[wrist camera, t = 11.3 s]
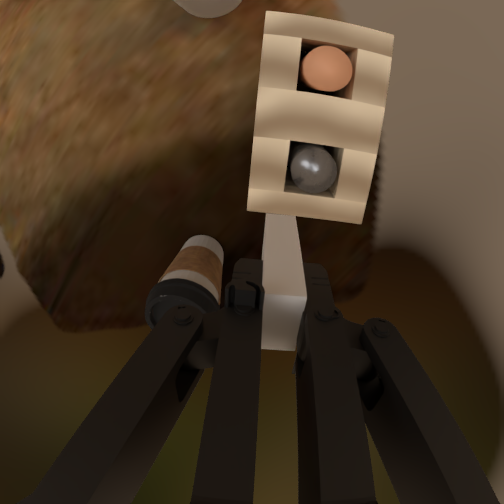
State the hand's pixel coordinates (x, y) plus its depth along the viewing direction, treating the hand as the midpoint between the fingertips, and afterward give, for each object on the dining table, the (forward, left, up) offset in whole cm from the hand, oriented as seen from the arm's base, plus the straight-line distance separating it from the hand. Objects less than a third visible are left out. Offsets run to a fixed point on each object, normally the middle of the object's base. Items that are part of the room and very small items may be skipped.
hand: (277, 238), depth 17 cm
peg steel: (0, +4, -23) cm, 23 cm away
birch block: (-5, +4, -24) cm, 25 cm away
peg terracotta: (-10, +4, -23) cm, 26 cm away
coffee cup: (+16, -8, -24) cm, 30 cm away
